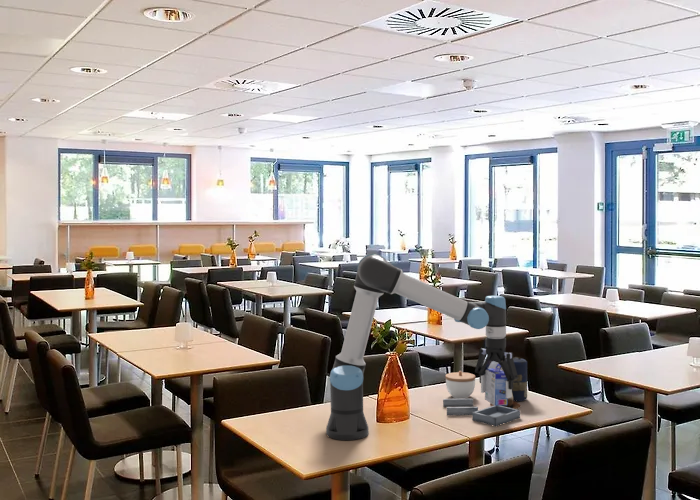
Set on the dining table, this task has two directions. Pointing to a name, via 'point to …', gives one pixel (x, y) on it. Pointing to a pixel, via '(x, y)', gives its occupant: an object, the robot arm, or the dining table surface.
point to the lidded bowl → (460, 384)
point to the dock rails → (459, 406)
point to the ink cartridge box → (495, 386)
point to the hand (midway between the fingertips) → (496, 394)
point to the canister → (520, 380)
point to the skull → (511, 404)
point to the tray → (495, 415)
